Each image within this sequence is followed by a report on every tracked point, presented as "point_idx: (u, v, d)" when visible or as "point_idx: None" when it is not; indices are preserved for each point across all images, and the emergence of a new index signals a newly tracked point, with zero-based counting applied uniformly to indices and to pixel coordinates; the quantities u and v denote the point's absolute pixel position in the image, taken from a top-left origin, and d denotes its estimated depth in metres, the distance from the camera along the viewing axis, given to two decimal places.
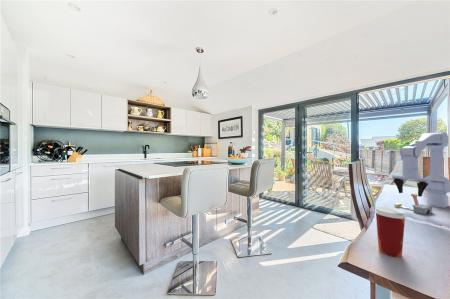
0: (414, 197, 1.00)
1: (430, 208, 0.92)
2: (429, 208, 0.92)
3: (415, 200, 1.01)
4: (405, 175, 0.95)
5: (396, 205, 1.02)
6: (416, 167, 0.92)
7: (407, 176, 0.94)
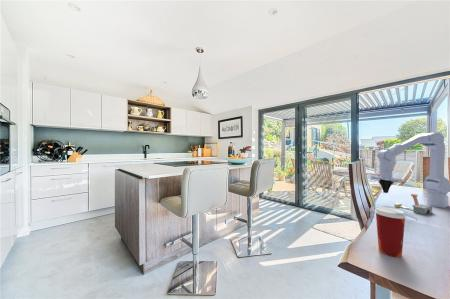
0: (414, 197, 1.00)
1: (430, 208, 0.92)
2: (429, 208, 0.92)
3: (415, 200, 1.01)
4: (381, 175, 1.08)
5: (396, 205, 1.02)
6: (388, 168, 1.05)
7: (383, 176, 1.07)
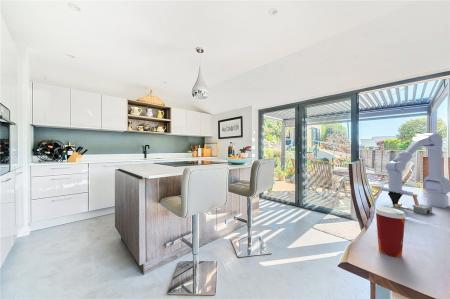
0: (414, 197, 1.00)
1: (430, 208, 0.92)
2: (429, 208, 0.92)
3: (415, 200, 1.01)
4: (390, 188, 1.04)
5: (396, 205, 1.01)
6: (399, 181, 1.01)
7: (392, 189, 1.03)
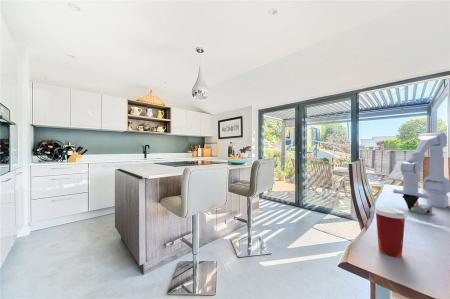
0: None
1: (430, 208, 0.92)
2: (429, 208, 0.92)
3: None
4: (406, 190, 0.97)
5: (413, 209, 0.95)
6: (416, 183, 0.95)
7: (408, 191, 0.96)
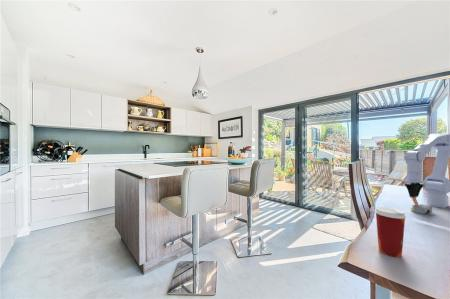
0: (413, 198, 1.00)
1: (430, 208, 0.92)
2: (429, 208, 0.92)
3: (414, 201, 1.00)
4: None
5: (413, 209, 0.95)
6: (419, 170, 0.98)
7: None
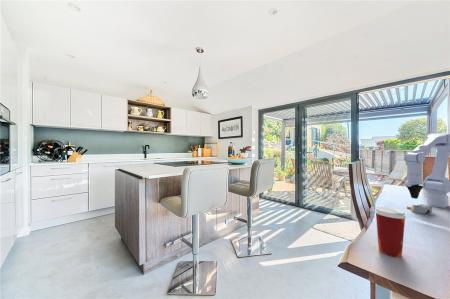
0: None
1: (430, 208, 0.92)
2: (429, 208, 0.92)
3: None
4: None
5: (413, 209, 0.95)
6: (420, 172, 0.98)
7: None
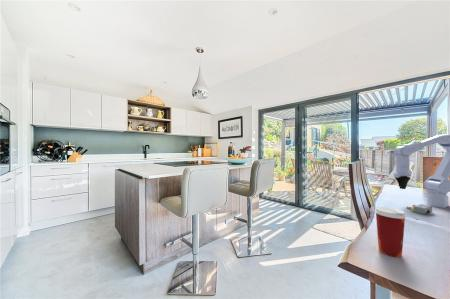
0: None
1: (430, 208, 0.92)
2: (429, 208, 0.92)
3: None
4: None
5: (413, 209, 0.95)
6: (405, 164, 1.05)
7: None
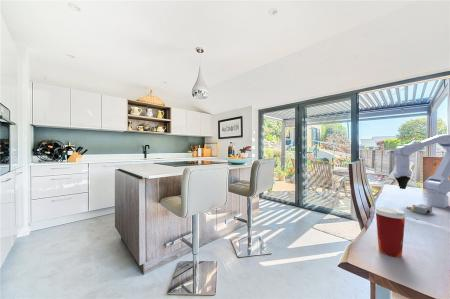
0: None
1: (430, 208, 0.92)
2: (429, 208, 0.92)
3: None
4: None
5: (413, 209, 0.95)
6: (405, 164, 1.05)
7: None
